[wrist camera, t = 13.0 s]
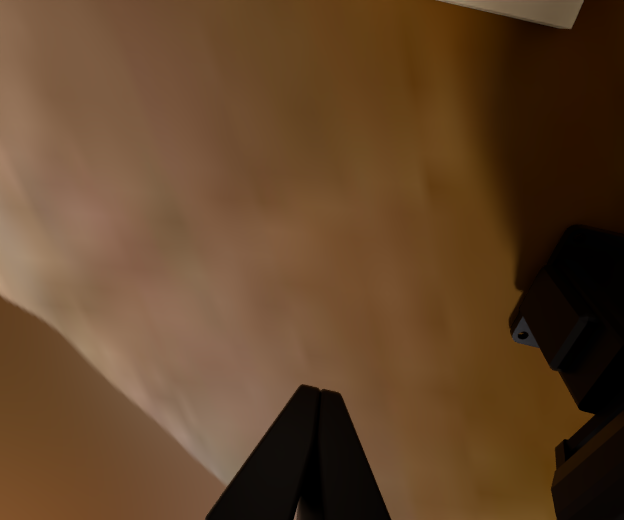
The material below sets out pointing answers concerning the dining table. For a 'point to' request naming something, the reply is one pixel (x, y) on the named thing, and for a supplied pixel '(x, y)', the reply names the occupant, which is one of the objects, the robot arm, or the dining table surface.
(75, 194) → the dining table surface
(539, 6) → the panel
